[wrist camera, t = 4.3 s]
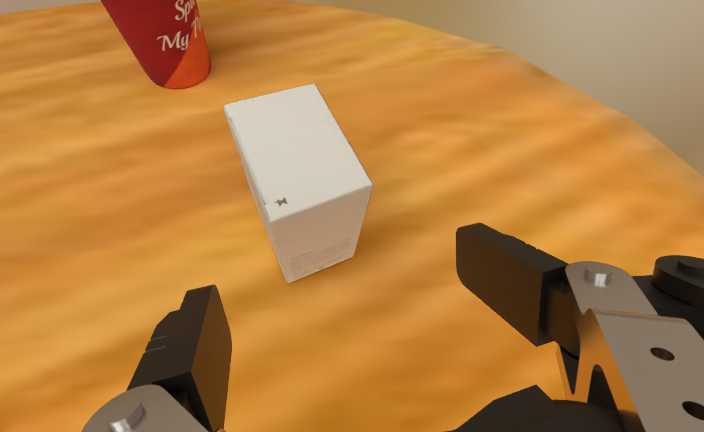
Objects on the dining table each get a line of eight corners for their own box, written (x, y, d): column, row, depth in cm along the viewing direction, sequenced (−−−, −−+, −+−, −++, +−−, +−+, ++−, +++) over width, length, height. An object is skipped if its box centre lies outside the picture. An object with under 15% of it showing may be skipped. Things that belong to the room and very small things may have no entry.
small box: (354, 258, 26) (378, 187, 16) (286, 286, 24) (269, 225, 15) (315, 177, 29) (316, 79, 19) (252, 198, 27) (220, 101, 18)
